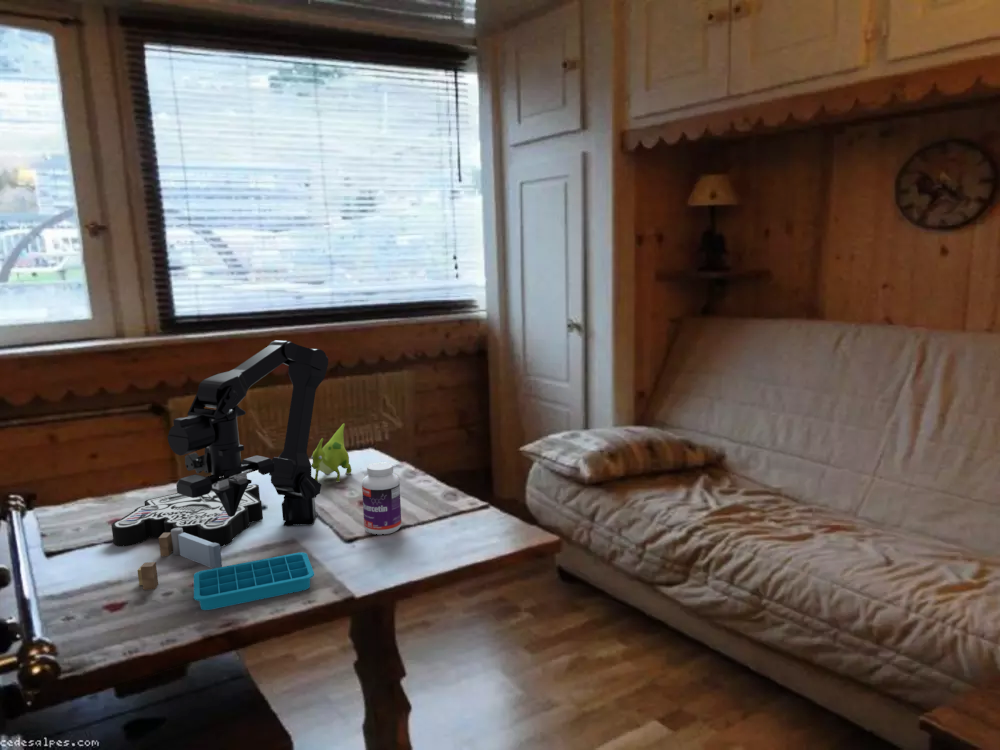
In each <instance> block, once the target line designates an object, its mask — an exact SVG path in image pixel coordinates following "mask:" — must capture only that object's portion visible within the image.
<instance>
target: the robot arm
mask: <svg viewBox="0 0 1000 750" xmlns="http://www.w3.org/2000/svg"><path fill="white" fill-rule="evenodd" d="M281 365H286V366H288V369H287V370H288V371H287V372H288V376H289V380H290V382H291V384H292V393H291V400H290V407H289V412H288V420H287V427H286V433H285V440H284V447H283V450H282V452H281V453H280V454H279V455H278V457H277V456H274V457H272V459H271V458H270V457H266V456H262V455H253V456H251V457H247V458H243V459H242V456H241V455H242V454H241V452H242V451H243V452H244V451H245V446H244V445H243V444H240V436H239V427H238V424H239V423H238V417H241V416H244V415H246V413H247V412H246V410H244V409H242V408H241V407H239V406H238V405H239V404H240V403H241V402H242V401H243V399H245V397H246V396H247V394H248V393H247V392H248V391H249V389H250V388H251V387H252V386H253V385H254V384H256V383H257V382H259V381H260V380H262V379H263V378H264V377H266V376H267V375H268V374H270V373H271V372H272V371H274V370H276V369H277V368H278V367H280V366H281ZM328 367H329V356H327V354H326V352H325V350H322V349H320V348H309V347H306V346H302V345H299V344H296V343H294V342H292V341H289V340H276V339H275V340H273V341H271V342H270V343H269V344H268V345H267V347H264V348H263V349H261V350H260V351H258V352H257V353H255V354H254V355H252V356H251V357H250V358H248V359H246V360H245V361H243V362H242V363H241V364H239V365H237V366H236V367H234V368H233V369H231V370H229V371H225V372H221V373H217V374H214V375H212V376H209V377H207V378H205V379H203V380H202V381H200V382H199V385H198V390H197V392H196V395H195V397H194V399H193V401H192V403H191V406H190V407H189V409H188V412H187V416H186V417H178V418H174V419H173V426H172V427H170V429H169V431H168V435H167V442H168V446H169V447H170V450H171V451H172V452H173V453H174V454H176V455H177V456H184V455H185V456H184V465H185V468H186V470H187V471H188V472H190V471H194V470H195V472H196V473H195V474H191V475H188V476H185V477H182V478H179V479H178V481H177V483H176V493H178V494H181V495H185V496H188V497H191V498H197V497H200V496H203V495H206V494H209V493H210V491H213V492H214V493H215V494H216V495H217V496H218V498H219V499H220V501H221V503H222V505H223V507H224V509H225V511H226V513H227V514H228V516H230V517H232V516H235V514H236V511H237V509H238V506H239V503H240V501H241V499H242V496H243V494H244V492H245V490H246V488H247V486H249V485H251V484H252V479H249V478H248V474H250V473H252V472H253V473H254V472H256V471H258V473H259V474H261V475H262V476H265V475H268V474H269V475H268V476H270V483H271V485H272V486H273V488H274V489H275V491H276V493H277V495H279V496H283V501H282V503H281V512H282V521H284V522H283V526H284V527H289V526H290V527H292V526H305V525H306V526H307V525H314V523H315V521H316V520H317V519H316V518H317V517H318V511H316V510H317V509H316V499H315V498H317V496H318V495H320V494H321V490H322V484H321V483H320V482H319V480H318V481H316V480H315V477H313V476H312V463H311V460H310V457H309V456H308V444H309V438H310V432H311V426H312V425H311V424H312V419H313V418H312V417H313V411H314V406H315V405H314V404H315V397H316V392H317V388H318V387H319V386H320V385H321V383H322V382H323V381H324V380H325V377H326V373H327V370H328ZM203 449H204V454H203V455H200V456H199V454H198V453H197V451H200V450H203ZM202 472H203V473H205V474H210V475H207V476H204V475H200V474H201V473H202Z"/></svg>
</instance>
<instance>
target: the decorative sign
mask: <svg viewBox="0 0 1000 750" xmlns="http://www.w3.org/2000/svg"><path fill="white" fill-rule="evenodd" d="M143 504H144V505H142V506H139V507H136V508H135V509H134V511H131V512H129V514H127V515H125V516H124V517H122V518H120V519H117V520H116V521H114V522H113V523H111V525H110V526H111V533H112V540H113V545H114V546H116V547H121V548H122V547H130V546H135V545H139V544H141V543H143V542H145V541H146V540H147V539H148V538H154V539H159V537H160V536H161V535H162V534H163V533H168V532H171V530H172V529H174V528H183V533H184V532H185V533H187V534H190V535H193V536H196V537H198V538H201V539H204V540H207V541H209V542H212V543H218V544H220V548H221V547H224V546H228V545H230V544H231V543H232V542H233V540H234V539H235V538H237V536H238V535H240V534H241V533H242V532H243V531H244V530H247V529H248V528H250V524H251V523H256V522H259V521H262V520H263V519H264V516H263V515H264V514H263V503H262V500H261V496H260V486H259V484H256V483H255V484H248V486H247V488H246V490H245V492H244V494H243V496H242V499H241V501H240V503H239V506H238V509H237V511H236V514H235V516H232V517H230V516H228V514H227V513H226V511H225V509H224V507H223V505H222V503H221V501H220V499H219V498H218V496H217V495H216V494H215V493H214V492H213V491H210V493H209V494H206V495H203V496H200V497H197V498H191V497H188V496H185V495H181V494H178V493H177V492H175V493H171V494H167V495H162V496H158V497H154V498H153V497H152V498H149V499H145V501H144V503H143Z"/></svg>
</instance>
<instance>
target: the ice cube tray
mask: <svg viewBox="0 0 1000 750" xmlns="http://www.w3.org/2000/svg"><path fill="white" fill-rule="evenodd" d="M314 577H315V571H314V569H313V567H312V563H311V562H310V559H309V555H308V553H306V552H302V551H300V552H299V551H298V552H294V553H288V554H284V555H278V556H273V557H267V558H263V559H258V560H257V559H256V560H251V561H246V562H241V563H236V564H232V565H226V566H222V567H219V568H214V569H213V568H208V569H204V570H199V571H196V572H194V574H193V599H194V600H195V601H198V602H199V605H200V610H203V611H209V610H210V611H211V610H215V609H219V608H225V607H230V606H235V605H239V604H244V603H249V602H254V601H259V599H260V600H263V599H264V598H265V599H269V598H273V597H278V596H283V595H287V594H288V593H289V594H293V592H294V593H299V592H303V591H306V590H308V589H309V588H311V579H312V578H314ZM302 590H303V591H302ZM289 594H288V595H289Z"/></svg>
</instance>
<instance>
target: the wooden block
mask: <svg viewBox="0 0 1000 750" xmlns="http://www.w3.org/2000/svg"><path fill="white" fill-rule="evenodd" d="M157 570H158V569H157V562H156V561H149V562H143V564H141V566H140V567H138V569H137V576H138V577H137V578H138V585H139V586H142V589H143V591H145V590H146V591H148V590H155V589H157V587H158V586H159V578H158V571H157Z"/></svg>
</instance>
